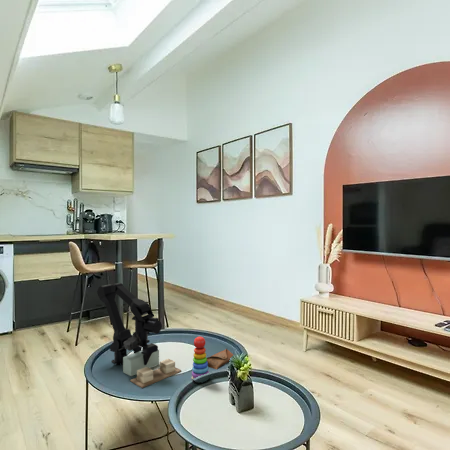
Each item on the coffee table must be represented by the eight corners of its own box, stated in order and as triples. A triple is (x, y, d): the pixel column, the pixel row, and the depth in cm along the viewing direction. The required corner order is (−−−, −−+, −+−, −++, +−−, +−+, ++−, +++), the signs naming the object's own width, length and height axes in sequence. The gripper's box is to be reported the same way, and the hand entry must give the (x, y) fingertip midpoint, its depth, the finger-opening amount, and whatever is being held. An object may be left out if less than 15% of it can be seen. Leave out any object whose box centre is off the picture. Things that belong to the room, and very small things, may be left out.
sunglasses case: (216, 370, 153) (211, 355, 156) (206, 374, 157) (201, 360, 159) (239, 357, 168) (233, 344, 170) (229, 361, 171) (224, 348, 173)
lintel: (123, 372, 152) (123, 357, 151) (151, 360, 164) (151, 346, 164) (131, 376, 148) (130, 360, 148) (159, 364, 160) (159, 349, 160)
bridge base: (130, 381, 143) (130, 370, 143) (169, 365, 158) (169, 356, 158) (141, 388, 137) (141, 377, 137) (181, 371, 152) (181, 361, 152)
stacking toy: (210, 376, 148) (210, 334, 148) (208, 384, 140) (208, 340, 140) (193, 375, 148) (193, 333, 148) (189, 383, 141) (189, 340, 140)
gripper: (115, 329, 156) (115, 362, 156) (137, 339, 143) (137, 374, 144) (136, 324, 164) (136, 355, 164) (158, 332, 152) (158, 366, 152)
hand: (141, 362), depth 156 cm, fingers closed on lintel, 6 cm apart
